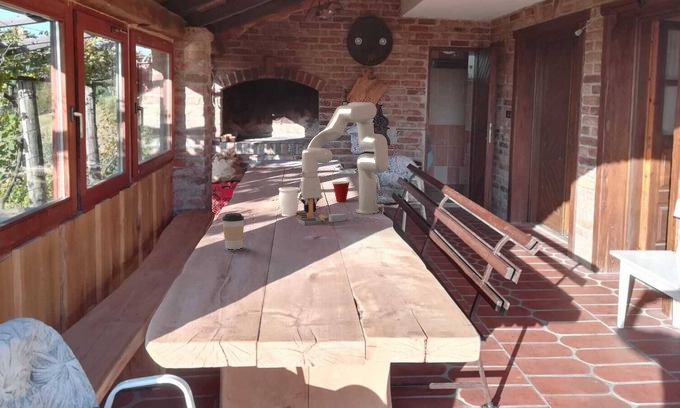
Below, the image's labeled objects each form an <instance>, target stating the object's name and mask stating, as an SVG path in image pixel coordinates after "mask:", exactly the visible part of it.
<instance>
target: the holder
mask: <svg viewBox="0 0 680 408" xmlns="http://www.w3.org/2000/svg"><path fill="white" fill-rule="evenodd" d="M303 218H308V217H307V213H305V214H304V213H303V214H297V215H296V218H295V220H296V221H297V219H303Z"/></svg>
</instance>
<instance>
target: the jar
mask: <svg viewBox="0 0 680 408" xmlns="http://www.w3.org/2000/svg"><path fill="white" fill-rule="evenodd" d="M278 191H279V193H278V205H279V209H280V212H281V216H283V217H294V216H297V215H298V214H297V212H298V209H299V202H300V200H298V199H297V198H298V196H299V192H298V191H299V187H295V186H283V187H282V186H281V187H279V188H278Z"/></svg>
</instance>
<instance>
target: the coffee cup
mask: <svg viewBox="0 0 680 408" xmlns="http://www.w3.org/2000/svg"><path fill="white" fill-rule="evenodd" d="M244 220H245V216H244V215H242V213H239V212H230V213H226V214H224V216H222V222H223V223H222V228H223V237H224V244H225V249H226V248H229V249H240V248H242V249H243V247H244V246H243V245H244V244H243V240H244V230H245V229H244V227H245V225H244ZM240 250H241V249H240Z"/></svg>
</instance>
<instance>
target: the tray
mask: <svg viewBox="0 0 680 408" xmlns="http://www.w3.org/2000/svg"><path fill="white" fill-rule="evenodd" d="M296 221H297V223H299V224H301V225H303V226H310V225H321V224H324V223H325V221H324V220H322V219H320V218H319V217H316V216H313V218H303V219H297V220H296Z"/></svg>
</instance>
